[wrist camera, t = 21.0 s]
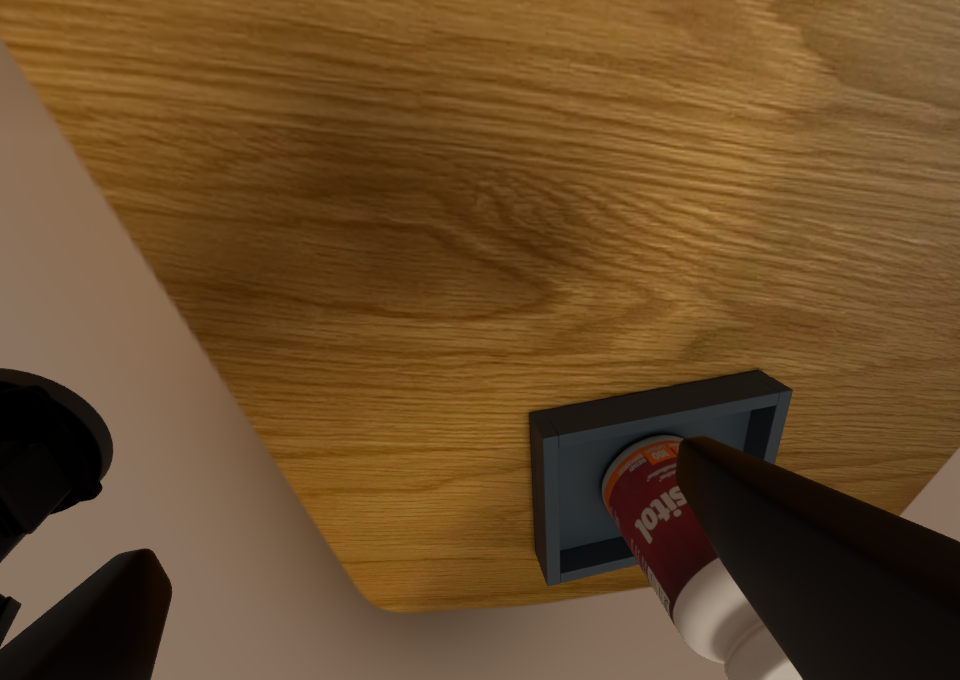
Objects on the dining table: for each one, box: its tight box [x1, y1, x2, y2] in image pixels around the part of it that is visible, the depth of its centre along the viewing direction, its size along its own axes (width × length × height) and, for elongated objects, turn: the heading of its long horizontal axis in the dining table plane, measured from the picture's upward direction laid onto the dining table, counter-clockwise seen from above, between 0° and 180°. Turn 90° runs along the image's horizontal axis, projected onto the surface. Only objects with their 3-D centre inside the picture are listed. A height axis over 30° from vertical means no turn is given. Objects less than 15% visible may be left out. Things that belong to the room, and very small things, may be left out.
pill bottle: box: [602, 435, 803, 680], centre depth 21 cm, size 6×6×11 cm
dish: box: [530, 370, 793, 586], centre depth 25 cm, size 14×11×2 cm
